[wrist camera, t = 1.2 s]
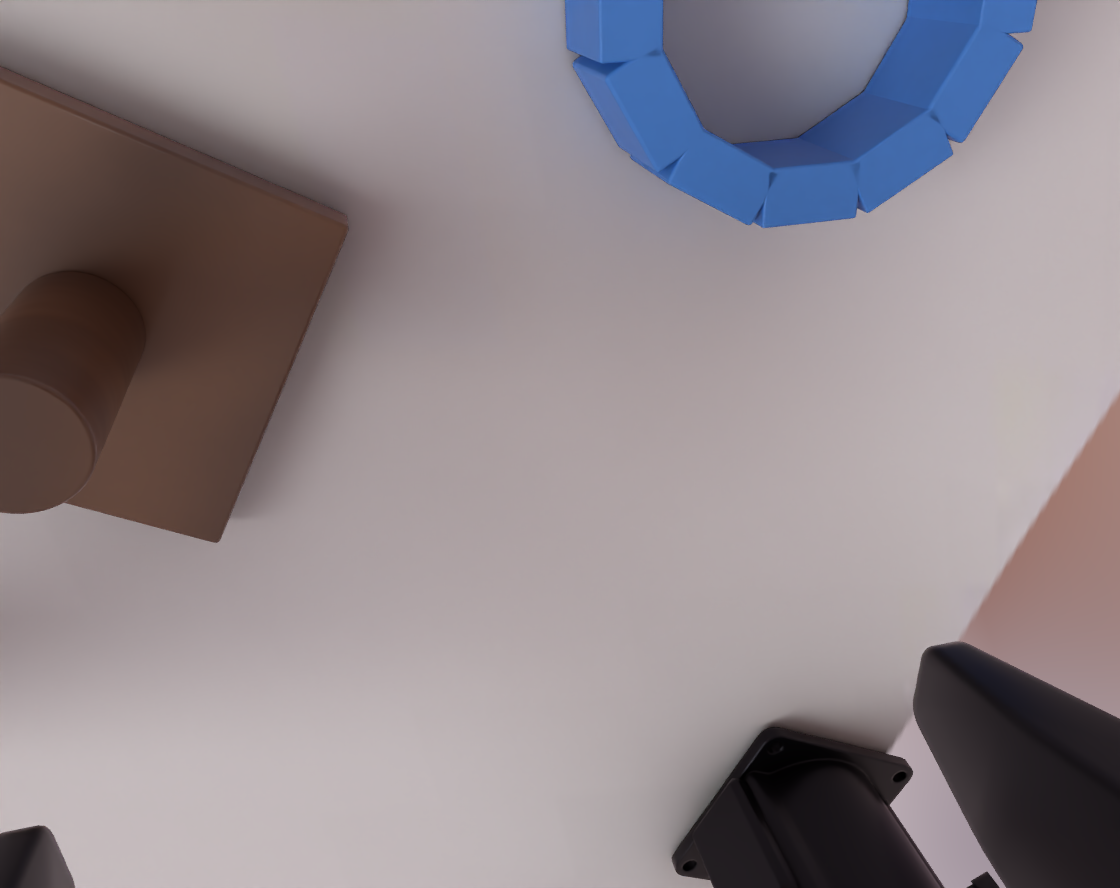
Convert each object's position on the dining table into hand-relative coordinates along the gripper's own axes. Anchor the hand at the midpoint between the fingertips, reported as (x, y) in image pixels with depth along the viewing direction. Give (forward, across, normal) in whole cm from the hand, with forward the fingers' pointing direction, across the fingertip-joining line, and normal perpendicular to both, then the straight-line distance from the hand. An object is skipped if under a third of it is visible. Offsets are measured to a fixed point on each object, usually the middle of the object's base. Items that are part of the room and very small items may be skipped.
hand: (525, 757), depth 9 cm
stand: (+13, +6, -1) cm, 15 cm away
